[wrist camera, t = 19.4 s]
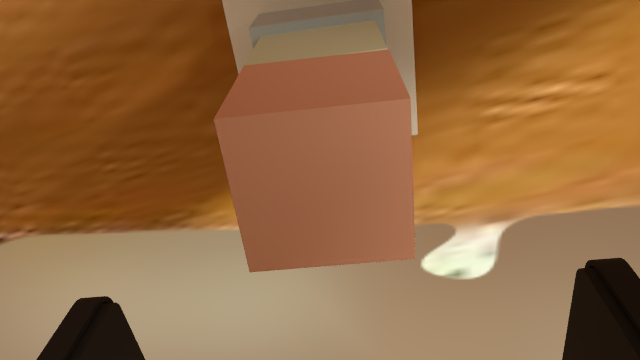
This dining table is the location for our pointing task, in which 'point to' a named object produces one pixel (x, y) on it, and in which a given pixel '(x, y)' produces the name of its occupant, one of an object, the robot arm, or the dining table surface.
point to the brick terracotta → (320, 161)
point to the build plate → (392, 34)
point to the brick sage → (318, 43)
